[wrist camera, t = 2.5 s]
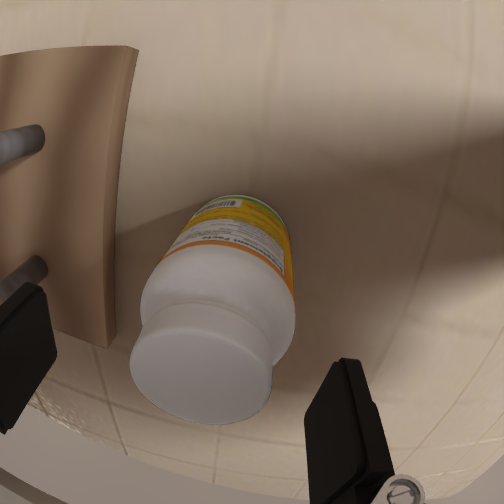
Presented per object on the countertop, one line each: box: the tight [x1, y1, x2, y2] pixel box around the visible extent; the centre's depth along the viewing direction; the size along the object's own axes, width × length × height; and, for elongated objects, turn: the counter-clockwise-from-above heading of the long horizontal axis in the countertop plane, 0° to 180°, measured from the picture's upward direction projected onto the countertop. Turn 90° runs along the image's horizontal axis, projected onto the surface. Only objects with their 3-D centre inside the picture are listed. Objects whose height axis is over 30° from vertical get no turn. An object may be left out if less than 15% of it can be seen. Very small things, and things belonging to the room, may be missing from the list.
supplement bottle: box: [129, 195, 295, 425], centre depth 12 cm, size 5×5×10 cm
